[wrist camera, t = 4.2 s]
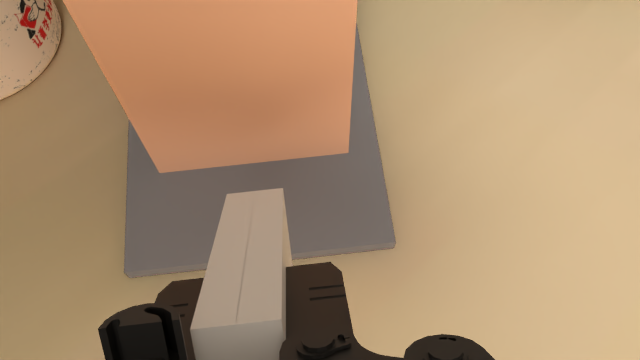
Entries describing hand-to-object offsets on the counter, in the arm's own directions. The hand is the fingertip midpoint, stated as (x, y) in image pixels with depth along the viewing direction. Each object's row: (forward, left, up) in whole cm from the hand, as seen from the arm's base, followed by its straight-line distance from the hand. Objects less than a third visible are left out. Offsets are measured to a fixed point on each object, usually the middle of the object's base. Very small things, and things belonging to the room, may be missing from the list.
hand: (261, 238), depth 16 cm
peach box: (+4, +8, -10) cm, 13 cm away
